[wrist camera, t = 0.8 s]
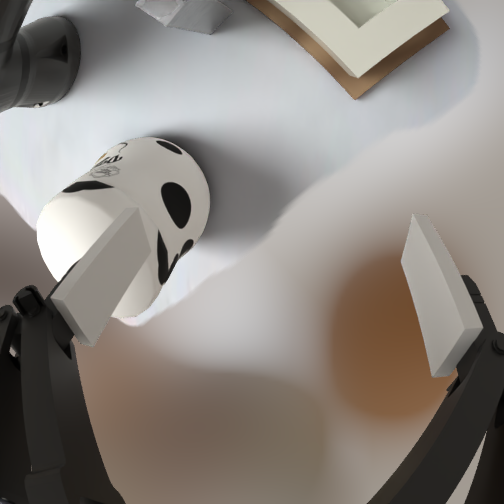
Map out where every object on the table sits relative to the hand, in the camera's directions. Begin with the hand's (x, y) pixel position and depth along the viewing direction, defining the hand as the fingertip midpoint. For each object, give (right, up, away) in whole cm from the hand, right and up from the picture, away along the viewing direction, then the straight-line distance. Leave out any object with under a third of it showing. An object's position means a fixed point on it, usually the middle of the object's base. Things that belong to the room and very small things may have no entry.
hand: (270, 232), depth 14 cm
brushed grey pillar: (-6, +26, +12) cm, 30 cm away
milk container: (-14, +8, +27) cm, 32 cm away
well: (+9, +26, +8) cm, 28 cm away
